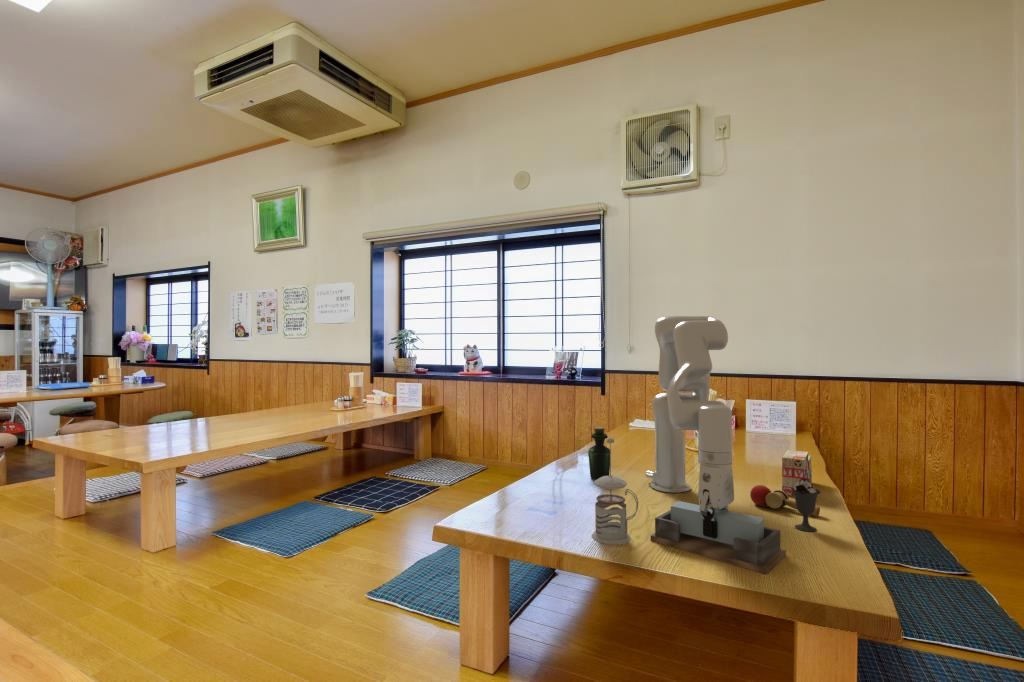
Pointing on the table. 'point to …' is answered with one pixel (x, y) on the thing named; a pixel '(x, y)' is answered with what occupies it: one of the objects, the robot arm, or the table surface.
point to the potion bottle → (599, 455)
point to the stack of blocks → (795, 469)
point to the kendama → (774, 498)
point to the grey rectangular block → (718, 523)
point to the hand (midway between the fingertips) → (715, 532)
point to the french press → (611, 511)
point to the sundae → (805, 501)
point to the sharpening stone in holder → (723, 546)
